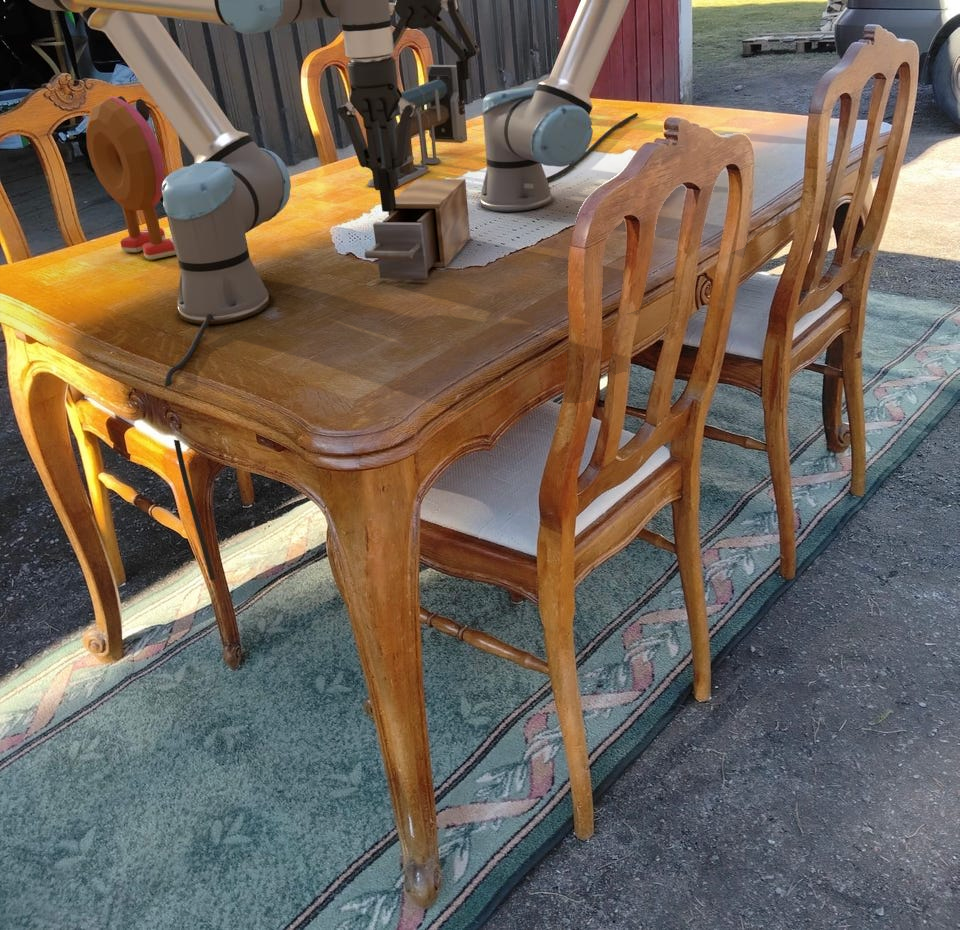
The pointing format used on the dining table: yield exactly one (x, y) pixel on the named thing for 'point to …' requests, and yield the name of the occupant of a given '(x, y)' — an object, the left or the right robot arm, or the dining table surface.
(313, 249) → the dining table surface
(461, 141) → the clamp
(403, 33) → the right robot arm
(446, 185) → the cabinet
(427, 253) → the drawer
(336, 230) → the dining table surface
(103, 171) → the toy
